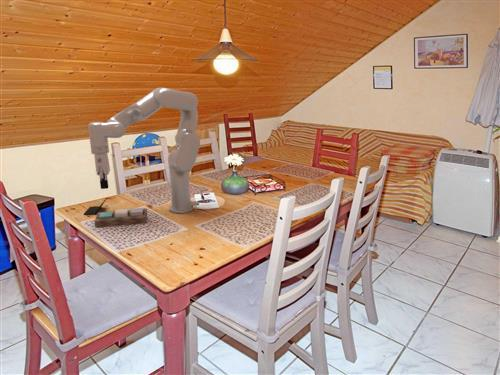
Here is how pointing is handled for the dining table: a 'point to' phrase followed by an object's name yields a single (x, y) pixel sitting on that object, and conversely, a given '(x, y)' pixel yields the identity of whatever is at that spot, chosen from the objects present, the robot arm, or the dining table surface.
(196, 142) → the robot arm
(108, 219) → the key panel
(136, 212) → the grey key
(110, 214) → the teal square block
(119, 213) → the cream key
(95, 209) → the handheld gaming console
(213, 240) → the dining table surface
